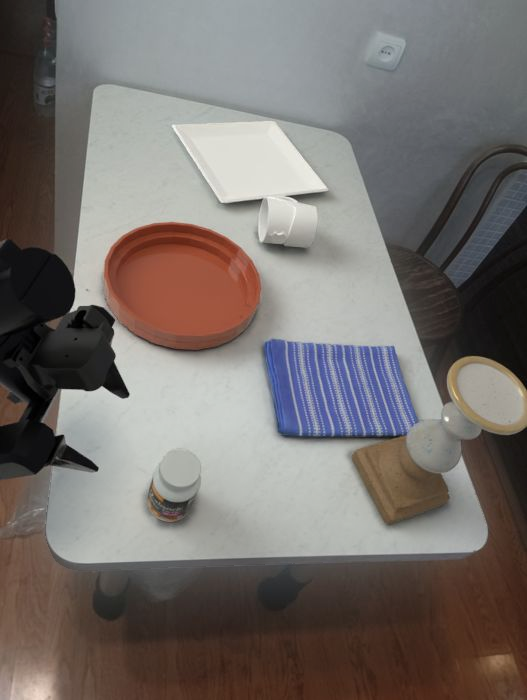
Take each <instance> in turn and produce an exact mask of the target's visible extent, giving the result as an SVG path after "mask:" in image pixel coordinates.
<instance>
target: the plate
mask: <svg viewBox="0 0 527 700" xmlns="http://www.w3.org/2000/svg"><path fill="white" fill-rule="evenodd" d="M171 127H172V129H173V130H174V132H175V133H176V135H177V136H178V138H179V140H180V142H181V143H182V144H183V146H184V148H185V149H186V150H187V152H188V154H189V155H190V157H191V158H192V160H193V162H194V163H195V165H196V167H197V168H198V169H199V171H200V172H201V174H202V176H203V177H204V179H205V180H206V182H207V184H208V185H209V186H210V188H211V190H212V191H213V193H214V195H215V196H216V197H217V199H218V200H219V202H220V203H222V204H230V203H238V202H248V201H254V200H255V201H256V200H263V199H264V198H265V197H275V196H285V197H290V196H291V197H292V196H298V195H299V196H300V195H308V194H315V193H325V192H326V193H327V192H329V190H330V189H329V188H328V187H327V186H326V184H325V183H324V182H323V180H322V179H321V178H320V177H319V175H318V174H317V173H316V172H315V170H314V169H313V168H312V167H311V165H310V164H309V163H308V161H307V160H306V158H304V157H303V155H302V153H301V152H299V150H298V148H296V146H295V145H294V143H292V141H291V140H290V139H289V137H288V136H287V135H286V134H285V132H284V131H283V130H282V129H281V127H280V126H279V125H278V124H277V123H276V121H274V120H259V121H256V120H255V121H236V122H233V121H232V122H207V123H206V122H205V123H184V124H183V123H182V124H172V125H171Z"/></svg>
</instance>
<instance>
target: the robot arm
mask: <svg viewBox="0 0 527 700" xmlns="http://www.w3.org/2000/svg"><path fill="white" fill-rule="evenodd" d="M75 300H76V284H75V281H74V278H73V275H72V273H71V270H70V269H69V267H68V266H67V264H66V263H65V262H64V261H63V260H62V259H61V257H60V256H58V255H57V254H56V253H52V252H50V251H48V250H47V249H43V248H40V247H36V246H35V247H34V246H31V247H26V248H21V247H20V246H19V245H18V244H16V242H15V241H13V240H12V239H10V238H5V239H4V240H2V241H0V385H1V386H2V387H3V388H4V389H6V390H7V391H9V393H8V395H7V396H6V399H7V400H9V401H10V402H11V403H13V404H14V405H16V404H20V403H25V404H26V407H25V409H24V411H23V413H21V416H20V418H19V419H18V421H15V422H12V423H7V424H3V425H0V481H5V480H10V479H11V480H12V479H16V478H22V477H29V476H34V475H37V474H39V472H41V470H43V469H44V468H47V467H49V466H51V467H57V468H62V469H69V470H74V471H78V472H79V471H80V472H85V473H92V474H93V473H98V472H99V471H100V470H99V469H100V467H99V466H98V465H97V464H96V463H95V462H94V461H92V460H91V459H90V458H88V457H87V456H86V455H83V454H82V453H80V452H79V451H77V449H75V448H73V447H72V446H70V445H68V444H67V441H66V436H65V434H63V433H61V434H58V435H55V432H54V429H53V428H51V427H50V426H49V425H47V424H46V423H45V421H46V420H47V417H48V415H49V414H50V411H51V409H52V408H53V406H54V404H55V402H56V400H57V398H58V397H59V394H60V392H61V390H71V391H72V390H73V391H75V390H76V391H77V390H78V391H84V392H95V391H97V390H99V389H100V388H102V387H103V388H104V389H105V390H106V391H108V392H110V393H111V394H112V395H114V396H116V397H118V398H120V399H122V400H124V399H128V398H129V397H130V395H131V393H130V391H129V389H128V387H127V385H126V383H125V382H124V379H123V377H122V375H121V373H120V371H119V369H118V366H117V365H116V363H115V360H116V356H117V354H116V352H115V350H114V349H113V347H112V345H113V339H114V336H115V329H114V328H113V327H114V324H115V322H116V319H115V317H114V316H113V315H112V314H111V313H110V312H109V311H108V309H106V308H105V307H103V306H100V305H97V304H90V305H78V307H77V308H76V310H74V311H71V310H72V309H73V306H74V303H75ZM70 311H71V312H70ZM60 318H61V319H60ZM57 319H60V320H59V321H58V324H57V325H56V327H55V328H53V327H50V326H49V325H48V324H47V323H49V322H52V321H55V320H57Z"/></svg>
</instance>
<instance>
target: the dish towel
mask: <svg viewBox="0 0 527 700" xmlns="http://www.w3.org/2000/svg"><path fill="white" fill-rule="evenodd" d="M263 349H264V356H265V363H266V368H267V373H268V378H269V382H270V389H271V394H272V399H273V406H274V410H275V411H274V412H275V419H276V424H277V432H278V433H279V434H281V435H282V436H298V437H315V438H318V437H320V438H321V437H323V438H326V437H329V438H333V437H345V438H346V437H349V438H350V437H362V438H365V437H375V438H377V437H378V438H380V437H384V438H386V437H392V438H397V437H401V436H405V435H407V433H408V431H409V430H410V428H411V427H412V426H413V425H415V424H416V423H418V422H419V419H418V415H417V413H416V410H415V408H414V406H413V402H412V400H411V397H410V396H411V395H410V393H409V391H408V388H407V385H406V383H405V379H404V376H403V373H402V369H401V365H400V362H399V359H398V356H397V352H396V347H395V345H375V346H371V345H356V344H346V345H345V344H339V343H337V344H336V343H335V344H330V343H316V342H301V341H289V340H286V339H280V338H273V337H271V338H270V339H269V340H267V341H264V342H263Z"/></svg>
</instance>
